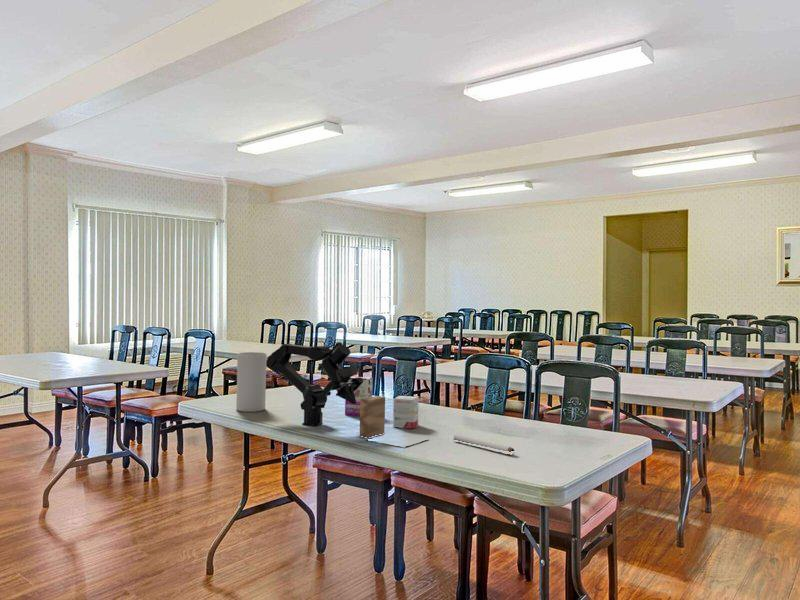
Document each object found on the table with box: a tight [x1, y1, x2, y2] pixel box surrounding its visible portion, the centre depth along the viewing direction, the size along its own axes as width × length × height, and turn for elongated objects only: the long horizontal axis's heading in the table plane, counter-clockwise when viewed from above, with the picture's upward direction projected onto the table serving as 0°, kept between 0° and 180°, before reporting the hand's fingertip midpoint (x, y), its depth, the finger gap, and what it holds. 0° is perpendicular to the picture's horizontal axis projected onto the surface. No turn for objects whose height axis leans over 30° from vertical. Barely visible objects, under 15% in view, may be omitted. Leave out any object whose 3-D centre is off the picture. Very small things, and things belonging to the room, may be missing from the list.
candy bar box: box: [344, 376, 374, 417], centre depth 266 cm, size 11×5×16 cm, turn 76°
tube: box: [453, 433, 515, 452], centre depth 213 cm, size 3×3×25 cm
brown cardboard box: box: [359, 395, 386, 439], centre depth 228 cm, size 4×10×14 cm, turn 145°
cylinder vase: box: [235, 351, 268, 413], centre depth 272 cm, size 12×12×25 cm
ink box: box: [392, 395, 419, 429], centre depth 246 cm, size 9×9×12 cm
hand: (355, 403), depth 233 cm, fingers closed
